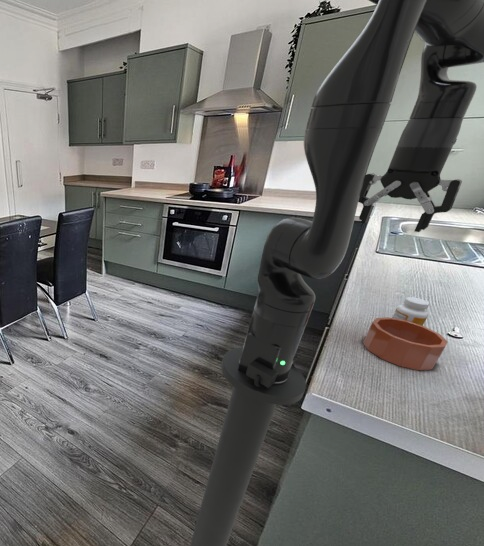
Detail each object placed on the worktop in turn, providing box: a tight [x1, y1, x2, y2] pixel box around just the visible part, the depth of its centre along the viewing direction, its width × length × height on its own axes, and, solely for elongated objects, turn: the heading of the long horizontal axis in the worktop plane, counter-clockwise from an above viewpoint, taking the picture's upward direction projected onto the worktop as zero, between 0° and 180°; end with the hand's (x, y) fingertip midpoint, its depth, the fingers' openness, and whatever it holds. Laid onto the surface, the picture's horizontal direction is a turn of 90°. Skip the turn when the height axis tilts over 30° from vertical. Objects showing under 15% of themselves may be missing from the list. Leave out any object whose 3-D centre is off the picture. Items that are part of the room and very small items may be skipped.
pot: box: [362, 317, 449, 371], centre depth 70 cm, size 12×12×6 cm
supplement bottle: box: [391, 296, 430, 326], centre depth 76 cm, size 5×5×10 cm
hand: (389, 226), depth 66 cm, fingers open, 8 cm apart
